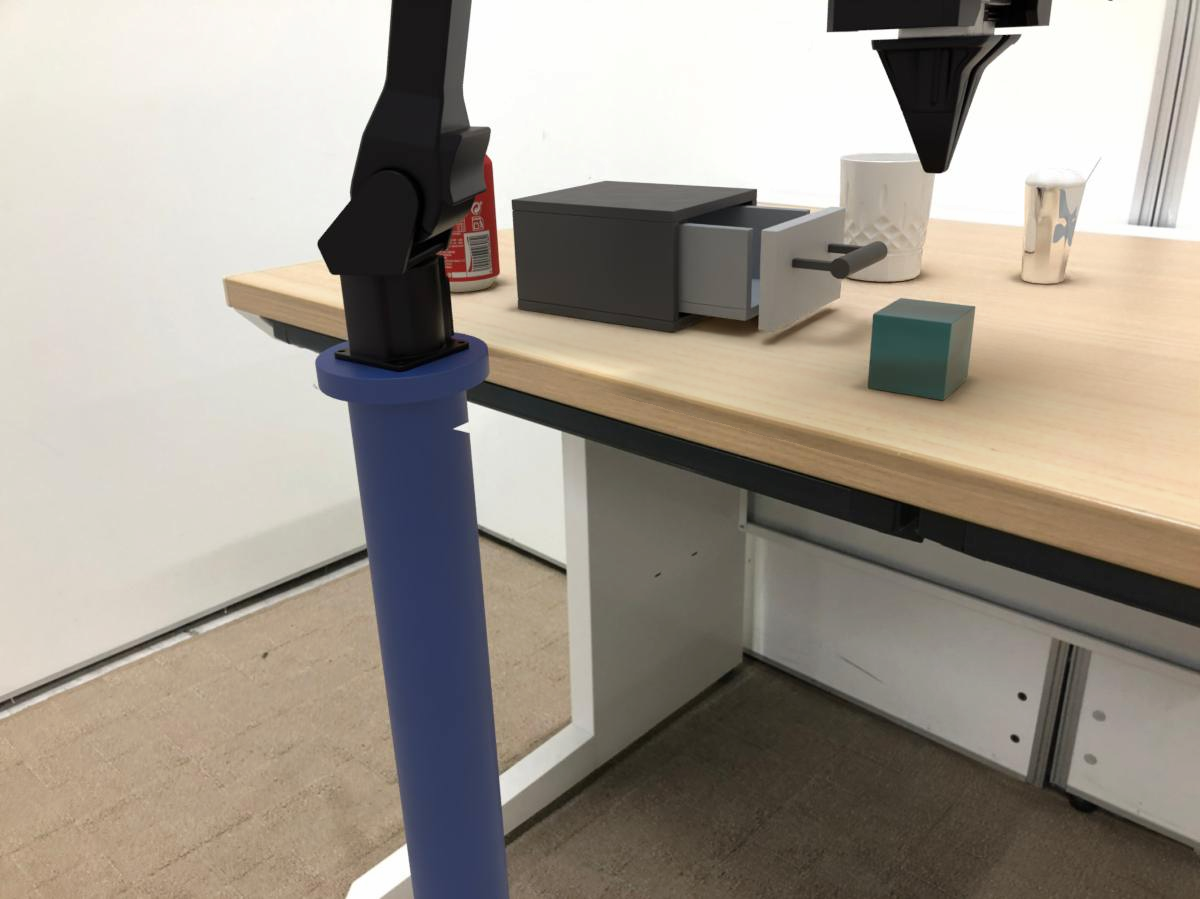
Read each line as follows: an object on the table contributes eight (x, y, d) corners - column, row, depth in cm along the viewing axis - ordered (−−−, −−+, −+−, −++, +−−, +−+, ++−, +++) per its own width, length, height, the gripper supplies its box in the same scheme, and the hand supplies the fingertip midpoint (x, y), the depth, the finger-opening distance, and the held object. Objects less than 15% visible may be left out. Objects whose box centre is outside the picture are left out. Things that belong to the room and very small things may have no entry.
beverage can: (492, 275, 91) (482, 140, 87) (507, 289, 86) (498, 145, 81) (424, 282, 89) (410, 144, 85) (435, 296, 84) (421, 150, 79)
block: (943, 400, 56) (951, 323, 54) (867, 388, 58) (872, 313, 57) (967, 379, 59) (975, 306, 57) (894, 368, 62) (900, 297, 60)
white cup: (942, 272, 87) (954, 154, 83) (899, 288, 82) (910, 163, 78) (861, 261, 92) (869, 150, 88) (816, 276, 87) (822, 158, 83)
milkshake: (1077, 288, 80) (1097, 160, 76) (1007, 282, 82) (1023, 158, 78) (1085, 277, 83) (1104, 154, 79) (1018, 272, 86) (1033, 153, 82)
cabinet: (754, 296, 80) (757, 188, 77) (673, 332, 71) (673, 211, 68) (608, 279, 88) (605, 180, 85) (517, 309, 79) (510, 199, 76)
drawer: (894, 304, 73) (901, 210, 71) (832, 340, 65) (838, 236, 62) (688, 280, 83) (688, 197, 80) (610, 309, 74) (608, 217, 72)
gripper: (1108, -217, 37) (1052, 203, 43) (1174, -151, 51) (1125, 159, 57) (830, -171, 43) (814, 192, 49) (957, -124, 57) (933, 154, 63)
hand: (935, 172), depth 55 cm, fingers closed
